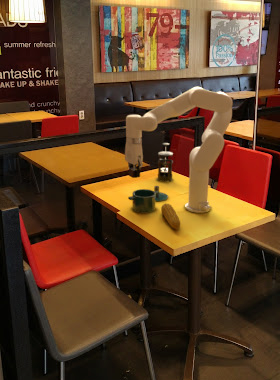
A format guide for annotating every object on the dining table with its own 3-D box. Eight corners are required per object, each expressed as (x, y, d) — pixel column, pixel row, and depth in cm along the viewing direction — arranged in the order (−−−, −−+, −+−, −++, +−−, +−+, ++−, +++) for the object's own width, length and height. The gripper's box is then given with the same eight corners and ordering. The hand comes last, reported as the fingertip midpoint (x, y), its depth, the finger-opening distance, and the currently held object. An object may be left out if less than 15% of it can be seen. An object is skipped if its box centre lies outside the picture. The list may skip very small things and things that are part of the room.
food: (159, 213, 193) (159, 202, 192) (170, 212, 194) (171, 201, 193) (172, 232, 173) (172, 220, 172) (184, 231, 174) (185, 218, 173)
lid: (172, 199, 211) (173, 187, 210) (153, 204, 205) (153, 192, 203) (159, 192, 221) (159, 181, 220) (140, 196, 215) (140, 185, 213)
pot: (164, 209, 198) (164, 193, 196) (135, 216, 189) (135, 200, 187) (151, 202, 207) (151, 186, 205) (123, 208, 198) (123, 192, 197)
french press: (176, 181, 241) (177, 144, 236) (163, 183, 236) (164, 146, 231) (165, 175, 251) (166, 140, 246) (152, 178, 246) (153, 142, 241)
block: (139, 176, 196) (139, 168, 195) (132, 178, 194) (132, 170, 193) (135, 174, 199) (135, 166, 199) (128, 175, 197) (128, 168, 197)
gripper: (118, 138, 198) (119, 173, 202) (136, 144, 184) (136, 182, 188) (131, 136, 202) (132, 170, 206) (149, 142, 188) (150, 179, 192)
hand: (134, 175), depth 197 cm, fingers closed on block, 4 cm apart
